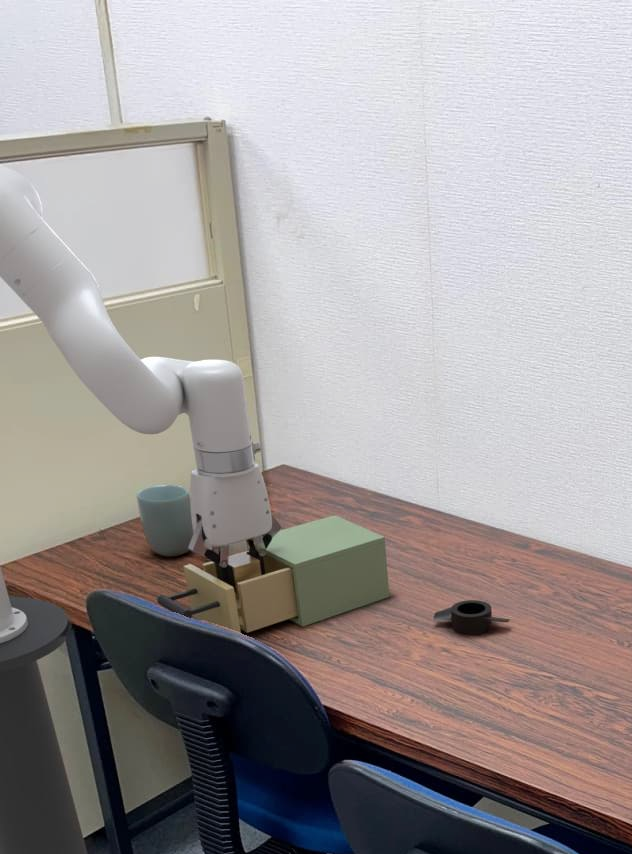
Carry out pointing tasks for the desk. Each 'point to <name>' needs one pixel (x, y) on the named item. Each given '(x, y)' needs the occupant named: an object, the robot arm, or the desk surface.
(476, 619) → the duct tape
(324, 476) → the desk surface
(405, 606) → the desk surface
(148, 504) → the cup
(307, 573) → the box
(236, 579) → the block
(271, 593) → the drawer
